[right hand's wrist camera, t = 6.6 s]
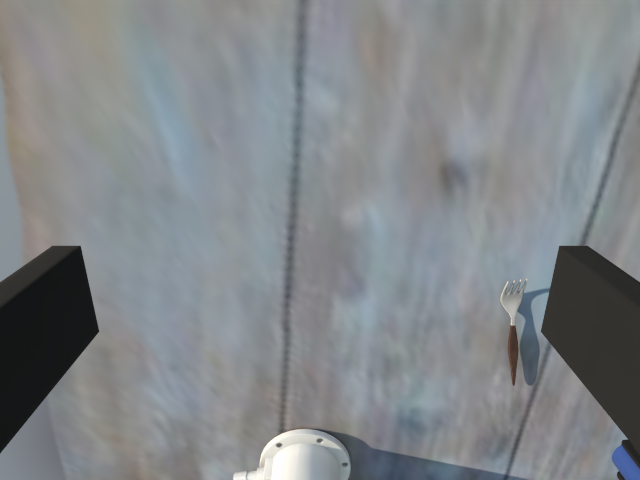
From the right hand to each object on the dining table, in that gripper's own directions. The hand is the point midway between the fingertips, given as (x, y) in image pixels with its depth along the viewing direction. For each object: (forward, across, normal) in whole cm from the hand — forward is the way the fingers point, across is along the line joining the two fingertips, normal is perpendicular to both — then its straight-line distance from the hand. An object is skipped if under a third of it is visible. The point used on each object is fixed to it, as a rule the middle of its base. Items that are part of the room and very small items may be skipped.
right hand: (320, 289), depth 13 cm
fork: (+36, +23, -25) cm, 49 cm away
